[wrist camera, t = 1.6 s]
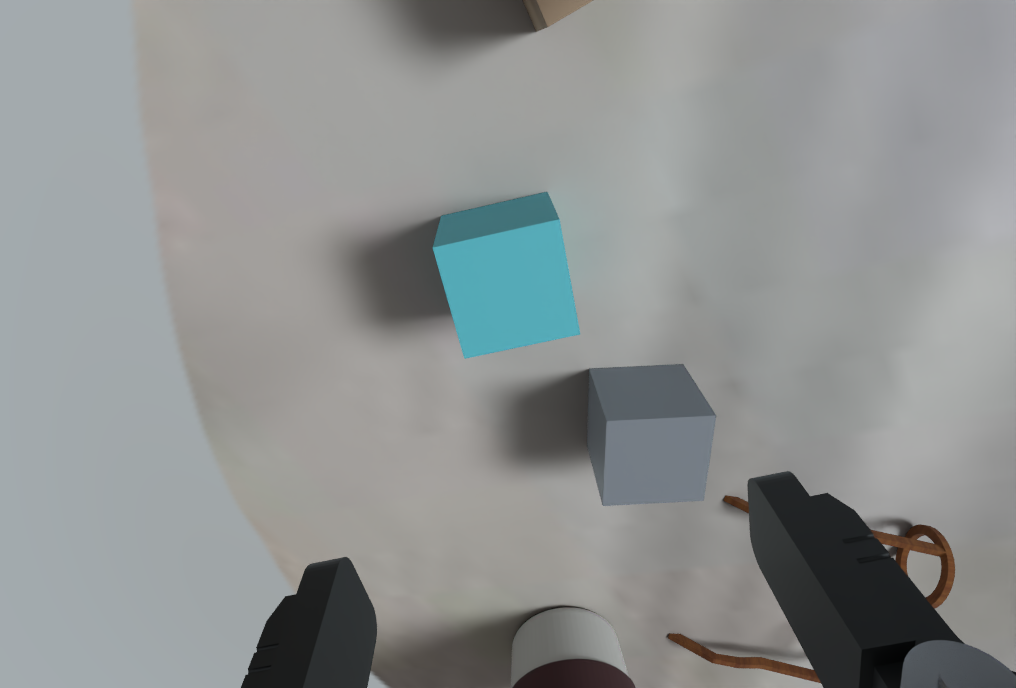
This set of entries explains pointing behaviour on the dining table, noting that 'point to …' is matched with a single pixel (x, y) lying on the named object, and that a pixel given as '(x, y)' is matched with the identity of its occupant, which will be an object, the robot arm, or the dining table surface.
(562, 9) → the walnut block
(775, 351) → the dining table surface
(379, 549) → the dining table surface
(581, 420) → the dining table surface
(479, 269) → the teal block
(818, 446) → the dining table surface
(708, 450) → the slate gray block
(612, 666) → the coffee cup
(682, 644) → the glasses
